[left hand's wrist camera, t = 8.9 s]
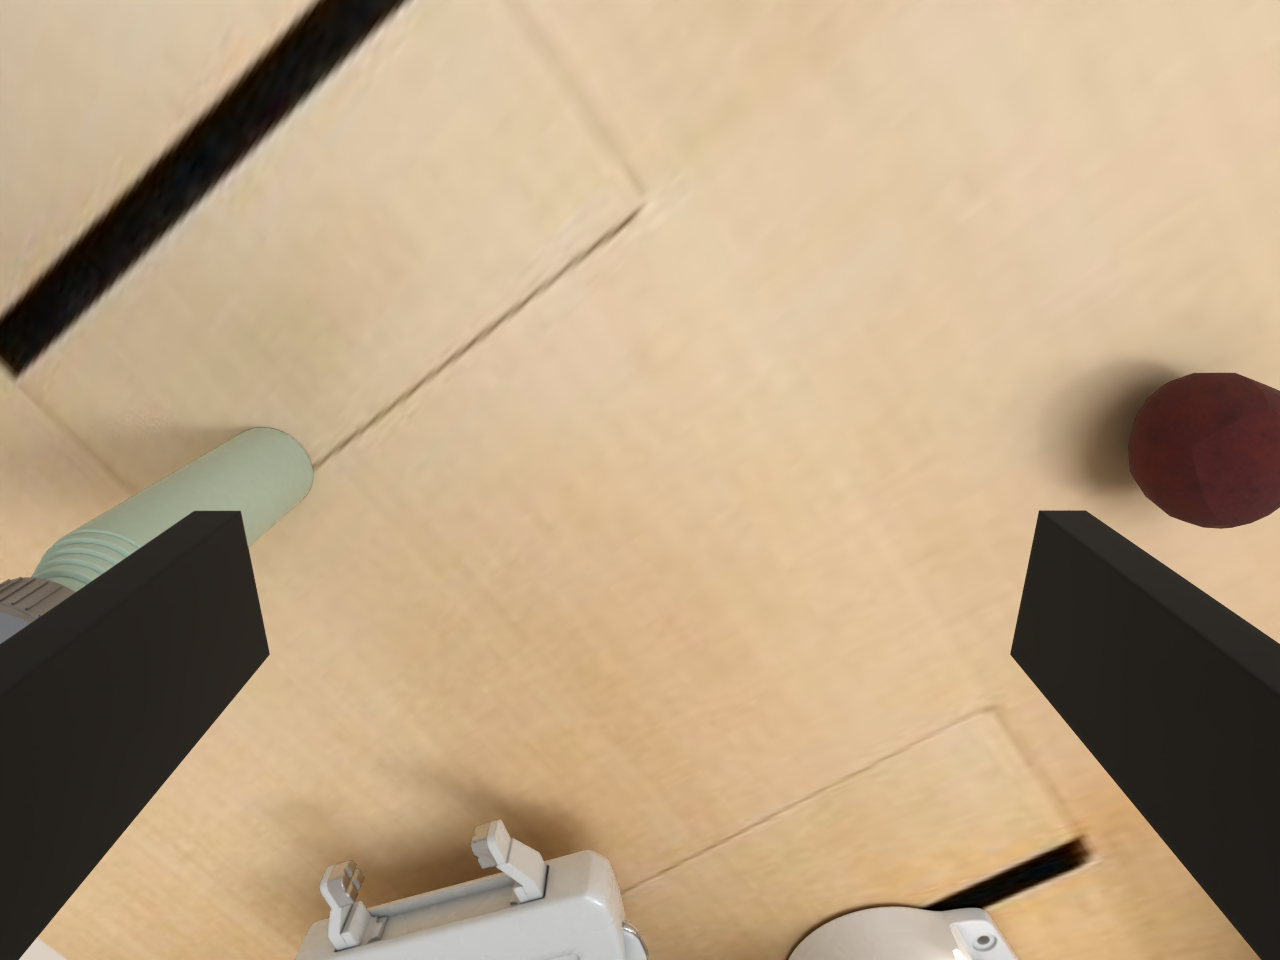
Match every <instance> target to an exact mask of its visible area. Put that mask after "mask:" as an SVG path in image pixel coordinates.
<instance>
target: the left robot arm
mask: <svg viewBox="0 0 1280 960" xmlns="http://www.w3.org/2000/svg"><path fill="white" fill-rule="evenodd" d="M269 655H270V654H269V649H268V644H267V639H266V634H265V629H264V624H263V619H262V614H261V609H260V604H259V599H258V594H257V589H256V584H255V579H254V574H253V569H252V564H251V559H250V554H249V549H248V544H247V539H246V534H245V529H244V524H243V519H242V514H241V511H193V512H192V513H190V514H189V515H187V516H186V517H184V518H183V519H181V520H180V521H179V522H177V523H176V524H174V525H173V526H171V527H170V528H168V529H167V530H165V531H164V532H163V533H161V534H160V535H158V536H157V537H155V538H154V539H152V540H151V541H149V542H148V543H147V544H145V545H144V546H142V547H141V548H139V549H138V550H136V551H135V552H133V553H132V554H131V555H129V556H128V557H126V558H125V559H123V560H122V561H120V562H119V563H117V564H116V565H115V566H113V567H112V568H110V569H109V570H107V571H106V572H104V573H103V574H101V575H100V576H99V577H97V578H96V579H94V580H93V581H91V582H90V583H88V584H87V585H85V586H84V587H83V588H81V589H80V590H78V591H77V592H75V593H74V594H72V595H71V596H69V597H68V598H67V599H65V600H64V601H62V602H61V603H59V604H58V605H56V606H55V607H53V608H52V609H51V610H49V611H48V612H46V613H45V614H43V615H42V616H40V617H39V618H38V619H36V620H35V621H33V622H32V623H30V624H29V625H27V626H26V627H24V628H23V629H22V630H20V631H19V632H17V633H16V634H14V635H13V636H11V637H10V638H8V639H7V640H6V641H4V642H3V643H1V644H0V960H19V959H20V957H21V956H22V955H23V954H24V952H25V951H26V950H27V949H28V948H29V946H30V945H31V944H32V943H33V941H34V940H35V939H36V938H37V937H38V935H39V934H40V933H41V932H42V931H43V929H44V928H45V927H46V926H47V925H48V923H49V922H50V921H51V920H52V918H53V917H54V916H55V915H56V914H57V912H58V911H59V910H60V909H61V907H62V906H63V905H64V904H65V903H66V901H67V900H68V899H69V898H70V897H71V895H72V894H73V893H74V892H75V890H76V889H77V888H78V887H79V886H80V884H81V883H82V882H83V881H84V880H85V878H86V877H87V876H88V875H89V873H90V872H91V871H92V870H93V869H94V867H95V866H96V865H97V864H98V863H99V861H100V860H101V859H102V858H103V856H104V855H105V854H106V853H107V852H108V850H109V849H110V848H111V847H112V845H113V844H114V843H115V842H116V841H117V839H118V838H119V837H120V836H121V835H122V833H123V832H124V831H125V830H126V828H127V827H128V826H129V825H130V824H131V822H132V821H133V820H134V819H135V818H136V816H137V815H138V814H139V813H140V811H141V810H142V809H143V808H144V807H145V805H146V804H147V803H148V802H149V801H150V799H151V798H152V797H153V796H154V794H155V793H156V792H157V791H158V790H159V788H160V787H161V786H162V785H163V783H164V782H165V781H166V780H167V779H168V777H169V776H170V775H171V774H172V773H173V771H174V770H175V769H176V768H177V766H178V765H179V764H180V763H181V762H182V760H183V759H184V758H185V757H186V756H187V754H188V753H189V752H190V751H191V749H192V748H193V747H194V746H195V745H196V743H197V742H198V741H199V740H200V739H201V737H202V736H203V735H204V734H205V732H206V731H207V730H208V729H209V728H210V726H211V725H212V724H213V723H214V721H215V720H216V719H217V718H218V717H219V715H220V714H221V713H222V712H223V711H224V709H225V708H226V707H227V706H228V704H229V703H230V702H231V701H232V700H233V698H234V697H235V696H236V695H237V694H238V692H239V691H240V690H241V689H242V687H243V686H244V685H245V684H246V683H247V681H248V680H249V679H250V678H251V676H252V675H253V674H254V673H255V672H256V670H257V669H258V668H259V667H260V666H261V664H262V663H263V662H264V661H265V659H266V658H267V657H268V656H269ZM1010 655H1011V656H1012V657H1013V658H1014V659H1015V661H1016V662H1017V663H1018V664H1019V666H1020V667H1021V668H1022V669H1023V670H1024V672H1025V673H1026V674H1027V675H1028V676H1029V678H1030V679H1031V680H1032V681H1033V683H1034V684H1035V685H1036V686H1037V687H1038V689H1039V690H1040V691H1041V692H1042V694H1043V695H1044V696H1045V697H1046V698H1047V700H1048V701H1049V702H1050V703H1051V704H1052V706H1053V707H1054V708H1055V709H1056V711H1057V712H1058V713H1059V714H1060V715H1061V717H1062V718H1063V719H1064V720H1065V721H1066V723H1067V724H1068V725H1069V726H1070V728H1071V729H1072V730H1073V731H1074V732H1075V734H1076V735H1077V736H1078V737H1079V739H1080V740H1081V741H1082V742H1083V743H1084V745H1085V746H1086V747H1087V748H1088V749H1089V751H1090V752H1091V753H1092V754H1093V756H1094V757H1095V758H1096V759H1097V760H1098V762H1099V763H1100V764H1101V765H1102V766H1103V768H1104V769H1105V770H1106V771H1107V773H1108V774H1109V775H1110V776H1111V777H1112V779H1113V780H1114V781H1115V782H1116V783H1117V785H1118V786H1119V787H1120V788H1121V790H1122V791H1123V792H1124V793H1125V794H1126V796H1127V797H1128V798H1129V799H1130V801H1131V802H1132V803H1133V804H1134V805H1135V807H1136V808H1137V809H1138V810H1139V811H1140V813H1141V814H1142V815H1143V816H1144V818H1145V819H1146V820H1147V821H1148V822H1149V824H1150V825H1151V826H1152V827H1153V828H1154V830H1155V831H1156V832H1157V833H1158V835H1159V836H1160V837H1161V838H1162V839H1163V841H1164V842H1165V843H1166V844H1167V845H1168V847H1169V848H1170V849H1171V850H1172V852H1173V853H1174V854H1175V855H1176V856H1177V858H1178V859H1179V860H1180V861H1181V863H1182V864H1183V865H1184V866H1185V867H1186V869H1187V870H1188V871H1189V872H1190V873H1191V875H1192V876H1193V877H1194V878H1195V880H1196V881H1197V882H1198V883H1199V884H1200V886H1201V887H1202V888H1203V889H1204V890H1205V892H1206V893H1207V894H1208V895H1209V897H1210V898H1211V899H1212V900H1213V901H1214V903H1215V904H1216V905H1217V906H1218V907H1219V909H1220V910H1221V911H1222V912H1223V914H1224V915H1225V916H1226V917H1227V918H1228V920H1229V921H1230V922H1231V923H1232V925H1233V926H1234V927H1235V928H1236V929H1237V931H1238V932H1239V933H1240V934H1241V935H1242V937H1243V938H1244V939H1245V940H1246V942H1247V943H1248V944H1249V945H1250V946H1251V948H1252V949H1253V950H1254V951H1255V952H1256V954H1257V955H1258V956H1259V957H1260V959H1261V960H1280V644H1279V643H1277V642H1276V641H1274V640H1273V639H1272V638H1270V637H1269V636H1267V635H1266V634H1264V633H1263V632H1261V631H1260V630H1258V629H1257V628H1256V627H1254V626H1253V625H1251V624H1250V623H1248V622H1247V621H1245V620H1244V619H1242V618H1241V617H1240V616H1238V615H1237V614H1235V613H1234V612H1232V611H1231V610H1229V609H1228V608H1226V607H1225V606H1224V605H1222V604H1221V603H1219V602H1218V601H1216V600H1215V599H1213V598H1212V597H1211V596H1209V595H1208V594H1206V593H1205V592H1203V591H1202V590H1200V589H1199V588H1197V587H1196V586H1195V585H1193V584H1192V583H1190V582H1189V581H1187V580H1186V579H1184V578H1183V577H1181V576H1180V575H1179V574H1177V573H1176V572H1174V571H1173V570H1171V569H1170V568H1168V567H1167V566H1165V565H1164V564H1163V563H1161V562H1160V561H1158V560H1157V559H1155V558H1154V557H1152V556H1151V555H1149V554H1148V553H1147V552H1145V551H1144V550H1142V549H1141V548H1139V547H1138V546H1136V545H1135V544H1133V543H1132V542H1131V541H1129V540H1128V539H1126V538H1125V537H1123V536H1122V535H1120V534H1119V533H1117V532H1116V531H1115V530H1113V529H1112V528H1110V527H1109V526H1107V525H1106V524H1104V523H1103V522H1101V521H1100V520H1099V519H1097V518H1096V517H1094V516H1093V515H1091V514H1090V513H1088V512H1087V511H1039V514H1038V519H1037V524H1036V529H1035V534H1034V539H1033V544H1032V549H1031V554H1030V559H1029V564H1028V569H1027V574H1026V579H1025V584H1024V589H1023V594H1022V599H1021V604H1020V609H1019V614H1018V619H1017V624H1016V629H1015V634H1014V639H1013V644H1012V649H1011V654H1010Z"/></svg>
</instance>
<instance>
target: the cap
mask: <svg viewBox="0 0 1280 960" xmlns="http://www.w3.org/2000/svg"><path fill="white" fill-rule="evenodd" d="M74 593H75V592H74V591H73V590H71V589H69V588H68V587H66V586H64V585H61V584H59V583H56V582H53V581H50V580H46V579H41V578H34V577H33V578H22V577H19V578H18V579H13V580H10V579H8V580H6V581H4V582H3V583H1V584H0V644H1V643H3V642H4V641H6V640H7V639H8V638H10V637H11V636H13V635H14V634H16V633H17V632H19V631H20V630H22V629H23V628H24V627H26V626H27V625H29V624H30V623H32V622H33V621H35V620H36V619H38V618H39V617H40V616H42V615H43V614H45V613H46V612H48V611H49V610H51V609H52V608H53V607H55V606H56V605H58V604H59V603H61V602H62V601H64V600H65V599H67V598H68V597H69V596H71V595H72V594H74Z"/></svg>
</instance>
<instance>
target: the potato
mask: <svg viewBox="0 0 1280 960" xmlns="http://www.w3.org/2000/svg"><path fill="white" fill-rule="evenodd" d="M1128 448H1129V462H1130V472H1131V474H1132V475H1133V477H1134V479H1135V480H1136V482H1137V484H1138V485H1139V487H1140V488H1141V490H1142V491H1143V493H1144V494H1145V496H1146V497H1147V498H1148V499H1150V500H1151V501H1152V502H1153V503H1155V504H1156V505H1157V506H1158V507H1159V508H1161V509H1162V510H1163V511H1164V512H1166V513H1167V514H1168V515H1169V516H1171V517H1174V518H1177V519H1179V520H1182V521H1185V522H1188V523H1191V524H1194V525H1198V526H1201V527H1206V528H1220V529H1221V528H1232V527H1236V526H1241V525H1245V524H1249V523H1252V522H1254V521H1257V520H1259V519H1261V518H1263V517H1266V516H1268V515H1270V514H1271V513H1272V512H1274V511H1275V510H1277V509H1278V508H1279V507H1280V391H1279V390H1276V389H1274V388H1272V387H1269V386H1267V385H1264V384H1262V383H1260V382H1257V381H1254V380H1252V379H1249V378H1247V377H1244V376H1241V375H1239V374H1236V373H1193V374H1190V375H1187V376H1184V377H1182V378H1179V379H1176V380H1173V381H1171V382H1168V383H1166V384H1165V385H1163V386H1162V387H1161V388H1159V389H1158V390H1157V391H1156V392H1155V393H1153V394H1152V395H1151V396H1150V397H1149V398H1148V399H1147V400H1146V402H1145V403H1144V405H1143V406H1142V408H1141V409H1140V411H1139V413H1138V414H1137V416H1136V419H1135V423H1134V426H1133V430H1132V433H1131V436H1130V440H1129V446H1128Z"/></svg>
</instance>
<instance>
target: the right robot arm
mask: <svg viewBox="0 0 1280 960" xmlns="http://www.w3.org/2000/svg"><path fill="white" fill-rule="evenodd" d="M474 832H475V835H474V836H473V837H472V840H471V848H472V852H473V854H474V855H475V856H477V857H478V863H479V864H480V866H481V868H482V869H485V868H490V867H494V866H496V867H497V868H498V869H499V870H501V871H502V872H501V873H497V874H493V875H489V876H486V877H482V878H478V879H474V880H471V881H467V882H463V883H459V884H456V885H452V886H448V887H444V888H440V889H437V890H433V891H429V892H425V893H422V894H418V895H414V896H410V897H407V898H403V899H399V900H395V901H391V902H388V903H384V904H380V905H376V906H373V907H369V908H366V907H365V905H364V904H363V902H362V901H357V902H355V900H356V898H357V895H358V892H357V891H358V890H359V888H360V887H361V885H362V883H363V880H364V878H365V877H364V876H363V874H362V873H361V871H360V870H359V869H357V868H356V863H355V862H354V861H353V860H350V861H346V862H342V863H338V864H335V865H331V866H328V867H327V869H326V871H325V873H324V875H323V877H322V880H321V882H320V892H321V894H322V895H323V897H324V898H325V900H326V902H327V903H328V905H329V906H330V908H331V909H330V915H329V918H327V919H323V920H319V921H317V922H315V923H314V924H313V925H312V926H311V927H310V929H309V930H308V932H307V934H306V936H305V938H304V940H303V942H302V944H301V946H300V948H299V950H298V953H297V955H296V958H295V960H648V950H647V948H646V945H645V943H644V941H643V939H642V937H641V934H640V932H639V931H638V929H637V928H636V927H635V926H634V925H632V924H630V923H628V922H626V921H625V912H624V906H623V902H622V897H621V894H620V890H619V886H618V883H617V880H616V877H615V874H614V872H613V869H612V867H611V864H610V862H609V860H608V859H607V858H606V857H604V856H603V855H601V854H599V853H597V852H595V851H592V850H584V851H580V852H576V853H572V854H569V855H565V856H561V857H557V858H554V859H550V860H546V861H544V860H543V858H542V856H541V855H540V853H539V852H538V851H536V850H534V849H532V848H531V847H529V846H527V845H525V844H523V843H521V842H520V841H518V840H516V839H514V838H511V837H510V835H509V834H508V832H507V830H506V828H505V826H504V824H503V822H502V821H501V820H500V819H499V820H495V821H492V822H488V823H485V824H482V825H478V826H476V827H475V829H474ZM788 960H1019V959H1018V958H1017V956H1016V955H1015V953H1014V951H1013V950H1012V948H1011V947H1010V945H1009V944H1008V942H1007V941H1006V939H1005V938H1004V936H1003V935H1002V933H1001V932H1000V930H999V928H998V927H997V925H996V924H995V922H994V921H993V919H992V918H991V916H990V915H989V914H988V912H986V911H985V910H983V909H980V908H962V909H954V910H947V911H929V910H923V909H917V908H910V907H878V908H870V909H865V910H860V911H856V912H853V913H849V914H846V915H844V916H841V917H839V918H836V919H834V920H832V921H830V922H828V923H826V924H824V925H822V926H821V927H819V928H818V929H816V930H815V931H813V932H812V933H811V934H809V935H808V936H807V937H806V938H805V939H804V940H803V941H802V942H801V943H800V944H799V945H798V946H797V947H796V948H795V950H794V951H793V953H792V954H791V956H790V957H789V959H788Z"/></svg>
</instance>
